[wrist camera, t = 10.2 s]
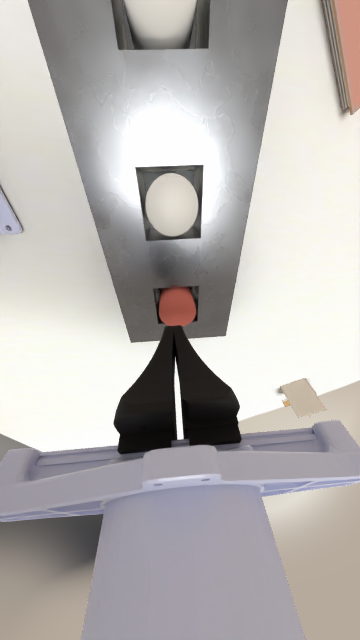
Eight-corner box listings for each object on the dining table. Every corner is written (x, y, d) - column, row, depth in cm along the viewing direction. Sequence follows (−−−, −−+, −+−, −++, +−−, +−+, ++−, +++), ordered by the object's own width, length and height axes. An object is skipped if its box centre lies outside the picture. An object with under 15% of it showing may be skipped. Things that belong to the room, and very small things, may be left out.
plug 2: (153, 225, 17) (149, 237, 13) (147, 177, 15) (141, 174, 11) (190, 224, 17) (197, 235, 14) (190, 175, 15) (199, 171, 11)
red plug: (161, 303, 22) (161, 328, 19) (158, 276, 20) (157, 298, 16) (190, 301, 23) (195, 326, 19) (190, 274, 20) (196, 295, 16)
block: (136, 318, 25) (131, 342, 21) (20, -161, 8) (-125, -506, 4) (216, 312, 26) (225, 335, 22) (274, -155, 8) (373, -465, 4)
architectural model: (305, 382, 41) (329, 414, 35) (277, 392, 43) (294, 424, 37) (303, 375, 39) (327, 408, 33) (273, 386, 41) (291, 419, 36)
